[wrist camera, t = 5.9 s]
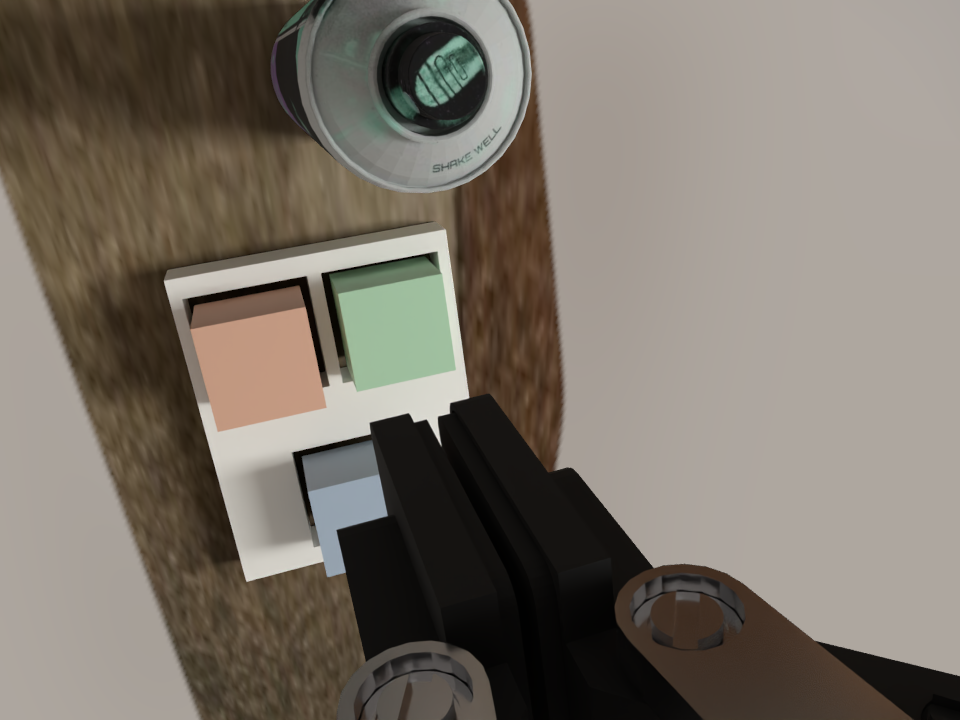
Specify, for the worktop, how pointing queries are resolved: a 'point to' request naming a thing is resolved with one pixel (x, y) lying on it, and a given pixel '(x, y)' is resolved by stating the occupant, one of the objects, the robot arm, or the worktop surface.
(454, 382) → the key console
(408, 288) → the sage key
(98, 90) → the worktop surface
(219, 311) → the terracotta key
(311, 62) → the spray can
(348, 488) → the slate key
